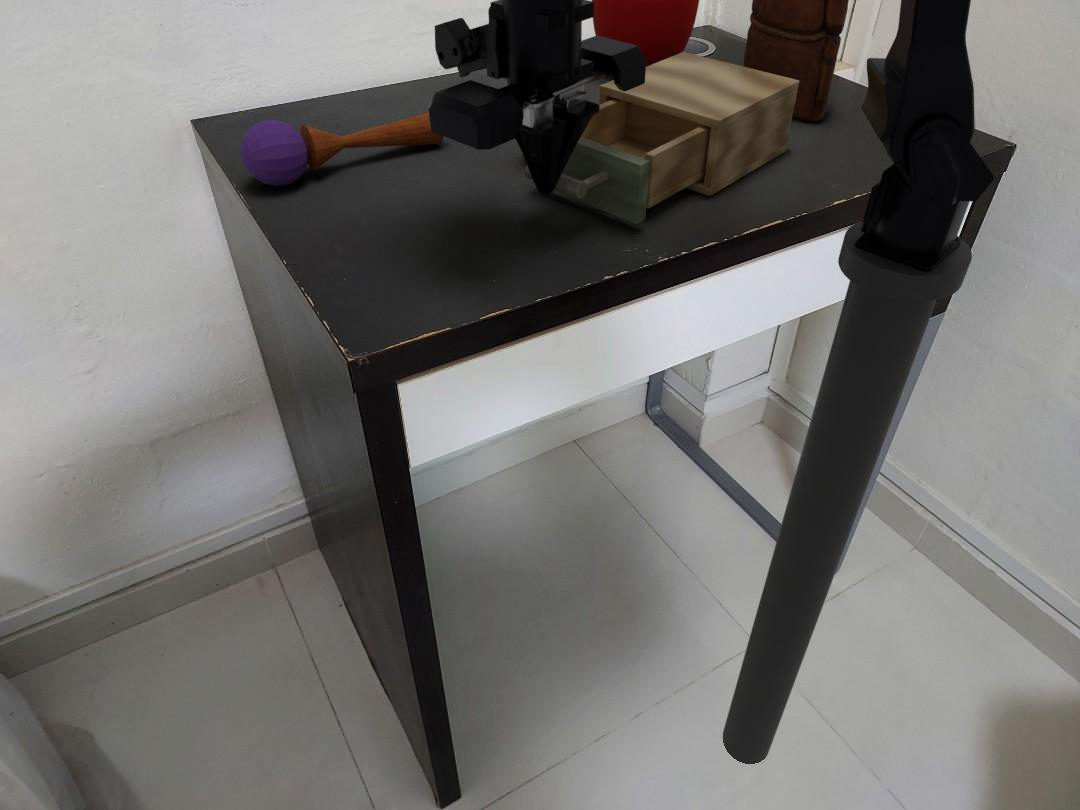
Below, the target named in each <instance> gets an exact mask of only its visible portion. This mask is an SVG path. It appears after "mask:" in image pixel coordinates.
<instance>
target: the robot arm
mask: <svg viewBox="0 0 1080 810" xmlns="http://www.w3.org/2000/svg"><path fill="white" fill-rule="evenodd" d="M971 1H972V0H900V8H899V17H898V27H897V32H896V35H895V38H894V40H893V42H892V44H891V46H890V47H889V50H888V52H887V55H886V57H868V58H867V59H866V75H867V91H866V96H865V98H864V100H863V103H862V105H861V107H860V108H861V110H862V112H863V113H864V115H865V117H866V119H867V120H868V123H869V124H870V126H871V127H872V129H873V131H874V132H875V134H876V136H877V138H878V139H879V140H880V142H881V144H882V146H883V148H884V150H885V151H886V154H887V156H888V157H889V158H890V159H891V161H892V162H893V164H891V165H890V166H889V167H887V168H886V169H884V170H883V171H882V173H881V178H880V180H879V181H878V182H877V183H876V184H875V185H873V186H872V187H871V190H870V193H869V197H868V201H867V203H866V208H865V210H864V211H865V212H864V215H863V219H862V221H863V222H862V226H861V231H862V232H864V233H865V234H863V235H862V236H861V237H860V238H858V239H857V240H856V242H855V247H856V248H859V249H861V250H864V251H867V252H870V253H872V254H875V255H878V256H881V257H884V258H886V259H889V260H892V261H895V262H898V263H900V264H903V265H906V266H909V267H912V268H914V269H917V270H920V271H923V272H931V271H933V270H934V269H935V268H936V267H937V266H938V265H939V264H940V263H941V262H942V261H943V260H944V259H946V258H947V257H948V256H949V255H950V254H951V253H952V252H953V251H954V250H955V249H956V248H957V247H958V246H959V245H960V243H961V239H962V238H961V237H960V238H961V239H960V238H958V237H959V236H958V234H959V231H960V229H961V226H962V223H963V220H964V218H965V215H966V212H967V210H968V207H969V204H970V202H977V201H978V200H979V199H980V197H981V196H982V195H983V194H984V193H985V191H986V190H987V189H988V188H989V186H990V185H991V184H992V183H993V181H994V179H995V174H993V172H992V171H991V169H990V168H989V167H988V165H987V164H986V163H985V161H984V160H983V158H982V156H980V154H979V153H978V151H977V150H976V148H975V147H974V146H973V145H972V141H973V139H974V135H975V128H976V127H975V124H976V123H975V122H976V121H975V88H974V81H973V76H972V70H971V64H970V58H969V53H968V52H969V51H968V48H967V36H966V35H967V27H968V21H969V15H970V8H971V3H972V2H971ZM593 17H594V2H592V0H494V1H491V2H490V6H489V7H488V23H487V24H486V23H485V24H483V25H479V26H477V27H472V28H470V27H469V24H468V23H467V21H465V19H464V18H463V17H458V18H455V19H451V20H449V21H445V22H442V23H439V24H436V25H434V48H435V52H436V55H437V59H438V62H439V65H440V66H441V67H442V68H443V69H444V70H450V69H454V68H457V72H458V75H459V78H465V77H467V76H469V75H470V74H471V73H473V72H478V71H481V70H485V69H486V76H487V77H488V78H493V79H495V80H500V79H505V80H506V84H507V85H505V86H502V87H500V88H496V87H493V86H490V85H487V84H484V83H481V82H478V81H474V80H471V79H469V80H466V81H464V82H461V83H458V84H455V85H452V86H449V87H447V88H444V89H441V90H438V91H436V92H435V93H434V94H433V96H432V97H431V99H430V100H429V102H428V112H429V118H430V127H431V131H432V132H434V133H437V134H439V135H442V136H443V137H445V138H447V139H449V140H452V141H455V142H457V143H461V144H462V145H466V146H468V147H471V148H473V149H476V150H477V151H478V150H480V151H481V150H492V149H494V148H496V147H498V146H501V145H503V144H505V143H508V142H510V141H513V140H515V141H516V143H517V146H518V147H519V149H520V151H521V154H522V156H523V158H524V161H525V163H526V166H528V168H529V171H530V173H531V176H532V178H533V180H532V182H533V181H534V183H533V184H534V185H535V188H536V190H537V192H538V193H540V194H542V195H543V196H544V195H545V196H548V195H550V194H552V193H553V192H554V191H553V190H554V188H555V186H556V184H557V182H558V180H559V178H560V176H561V174H562V172H563V170H564V168H565V166H566V164H567V162H568V160H569V158H570V155H571V154H572V152H573V150H574V148H575V147H576V145H577V143H578V141H579V139H580V138H581V136H582V134H583V132H584V131H585V129H586V127H587V125H588V124H589V122H590V120H591V118H592V117H593V115H595V114H597V113H598V112H599V109H600V106H599V105H600V103H597V102H594V101H590V100H587V97H588V95H587V94H588V93H587V91H585V90H586V89H585V87H586V86H585V85H588V84H590V83H593V82H596V81H599V80H600V79H603V78H605V77H608V76H611V77H613V80H614V83H615V85H616V86H617V87H618V89H619V90H621V91H625V92H626V91H628V90H630V89H633V88H635V87H637V86H640V85H642V84H644V83H645V73H646V58H645V57H644V55H643V53H642V52H641V50H640V48H639V46H637V45H633V44H629V43H625V42H621V41H617V40H613V39H608V38H604V37H600V36H596V35H594V36H591V37H589V38H586V39H583V40H582V36H583V35H582V30H583V29H582V25H583V21H586V20H589V19H593ZM957 236H958V237H957Z"/></svg>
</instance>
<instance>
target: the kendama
mask: <svg viewBox="0 0 1080 810" xmlns="http://www.w3.org/2000/svg"><path fill="white" fill-rule="evenodd" d="M443 141H444V136H442V135H439V134H437V133H434V132H432V131H431V127H430V118H429V111H428V112H425V113H424V112H423V113H422V114H417V115H415V116H410V117H406V118H403V119H399V120H396V121H393V122H389V123H385V124H381V125H379V126H375V127H371V128H368V129H364V130H361V131H357V132H354V133H351V134H347V135H343V136H341V135H337V134H335V133H331V132H328V131H325V130H322V129H318V128H315V127H312V126H309V125H305V124H303V125H301V127H300V131H298V130H297V129H296V128H294V127H293V126H292V125H290V124H289V123H288V122H286V121H281V120H278V119H267V120H261V121H259V122H257V123H256V124H254V125H253V126H251V127H250V128H248V129H247V131H246V132H245V134H244V136H243V138H242V140H241V148H240V156H241V157H240V158H241V161H242V163H243V165H244V166H245V168H246V170H247V172H248V173H249V174H250V175H251V177H253V178H254V179H256V180H257V181H259V182H260V183H261V184H264V185H268V186H273V187H280V186H285V185H291V184H293V183H294V182H295V181H297V180H299V179H300V178H301V177H302V176H303V174H304V172H305V170H306V168H307V166H308V167H309V169H311V170H312V171H316V170H317V169H319V168H320V167H321V166H323V165H324V164H326V162H328V161H330V159H332V158H333V157H335V156H336V155H337V154H338V153H340V152H341V151H342V150H344V149H357V148H360V149H361V148H379V147H381V148H382V147H403V146H427V145H441V144H442V142H443Z"/></svg>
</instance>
